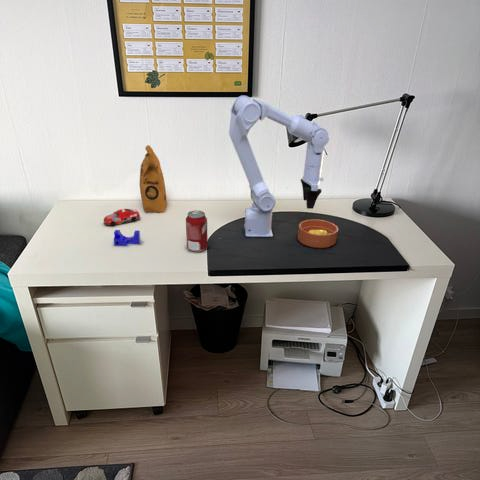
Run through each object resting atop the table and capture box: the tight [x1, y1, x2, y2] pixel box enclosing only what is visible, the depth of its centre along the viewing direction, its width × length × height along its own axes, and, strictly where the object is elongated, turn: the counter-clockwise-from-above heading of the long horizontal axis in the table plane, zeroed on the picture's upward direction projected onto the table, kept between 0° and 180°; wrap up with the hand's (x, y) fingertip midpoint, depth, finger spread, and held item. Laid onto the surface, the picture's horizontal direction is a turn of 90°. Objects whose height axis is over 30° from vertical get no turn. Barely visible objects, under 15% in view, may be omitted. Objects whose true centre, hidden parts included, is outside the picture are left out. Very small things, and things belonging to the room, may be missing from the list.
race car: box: [103, 208, 141, 227], centre depth 158 cm, size 13×5×4 cm, turn 123°
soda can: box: [185, 210, 208, 253], centre depth 140 cm, size 7×7×12 cm
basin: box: [296, 218, 339, 249], centre depth 150 cm, size 13×13×5 cm
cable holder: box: [113, 229, 142, 247], centre depth 144 cm, size 8×4×4 cm, turn 90°
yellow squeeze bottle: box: [308, 230, 331, 235], centre depth 150 cm, size 8×3×3 cm, turn 93°
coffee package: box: [139, 144, 168, 213], centre depth 165 cm, size 10×12×22 cm
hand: (308, 204), depth 154 cm, fingers open, 7 cm apart
